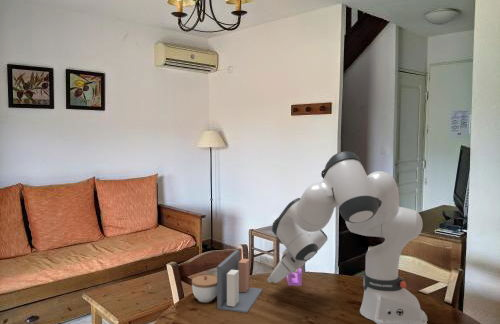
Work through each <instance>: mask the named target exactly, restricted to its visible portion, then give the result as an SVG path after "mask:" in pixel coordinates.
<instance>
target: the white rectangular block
mask: <svg viewBox="0 0 500 324" xmlns="http://www.w3.org/2000/svg"><path fill="white" fill-rule="evenodd" d="M238 302H239V270H230V271H229V272H228V273H227V306H233V307H235V306H236V304H237V303H238Z"/></svg>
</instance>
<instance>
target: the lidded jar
mask: <svg viewBox="0 0 500 324" xmlns="http://www.w3.org/2000/svg"><path fill="white" fill-rule="evenodd" d="M191 290H192V293H193V296H194V297H195V299H196V300H197V302H199V303H210V301H211V302H213V301H212V300H214V299H216V297H217V275H210V274H204V275H197V276H195V277H193V278H191Z"/></svg>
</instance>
